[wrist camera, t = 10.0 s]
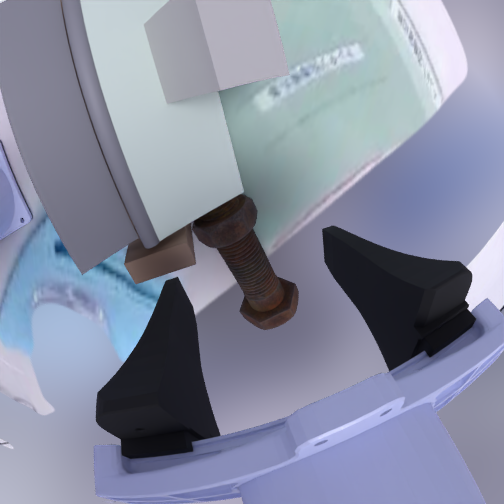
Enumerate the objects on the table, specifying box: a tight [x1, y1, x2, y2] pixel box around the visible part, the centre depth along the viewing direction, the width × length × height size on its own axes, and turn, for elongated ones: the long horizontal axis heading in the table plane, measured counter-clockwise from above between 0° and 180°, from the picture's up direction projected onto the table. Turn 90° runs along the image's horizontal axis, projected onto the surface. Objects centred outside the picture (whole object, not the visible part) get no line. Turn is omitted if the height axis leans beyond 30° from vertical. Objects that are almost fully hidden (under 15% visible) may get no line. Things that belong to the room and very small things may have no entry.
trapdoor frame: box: [60, 0, 196, 284], centre depth 13 cm, size 5×22×7 cm, turn 12°
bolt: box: [192, 194, 299, 330], centre depth 23 cm, size 6×5×15 cm
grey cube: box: [144, 0, 289, 104], centre depth 10 cm, size 4×5×5 cm
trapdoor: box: [0, 0, 244, 275], centre depth 11 cm, size 11×18×3 cm, turn 12°
